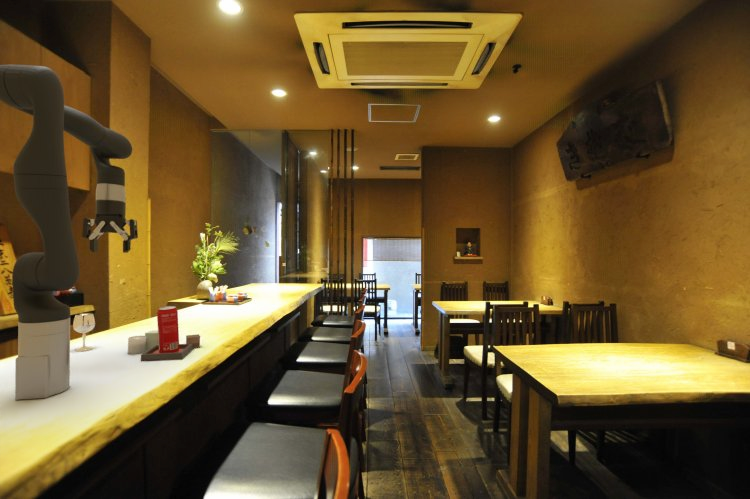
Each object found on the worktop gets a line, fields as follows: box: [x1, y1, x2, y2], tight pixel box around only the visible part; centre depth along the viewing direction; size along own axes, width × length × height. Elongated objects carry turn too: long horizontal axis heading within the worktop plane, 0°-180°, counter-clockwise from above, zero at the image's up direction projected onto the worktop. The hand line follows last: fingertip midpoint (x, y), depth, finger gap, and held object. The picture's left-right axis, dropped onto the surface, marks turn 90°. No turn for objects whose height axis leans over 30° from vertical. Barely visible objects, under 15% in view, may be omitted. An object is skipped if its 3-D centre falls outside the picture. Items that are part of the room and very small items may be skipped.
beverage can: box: [156, 305, 180, 353], centre depth 118 cm, size 6×6×15 cm
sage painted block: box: [144, 329, 159, 351], centre depth 125 cm, size 4×4×6 cm
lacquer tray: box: [140, 343, 193, 362], centre depth 118 cm, size 12×12×2 cm
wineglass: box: [72, 312, 96, 352], centre depth 124 cm, size 6×6×12 cm
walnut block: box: [185, 333, 201, 349], centre depth 128 cm, size 4×4×4 cm
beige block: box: [127, 335, 146, 356], centre depth 121 cm, size 5×5×5 cm
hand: (110, 252), depth 113 cm, fingers open, 8 cm apart
